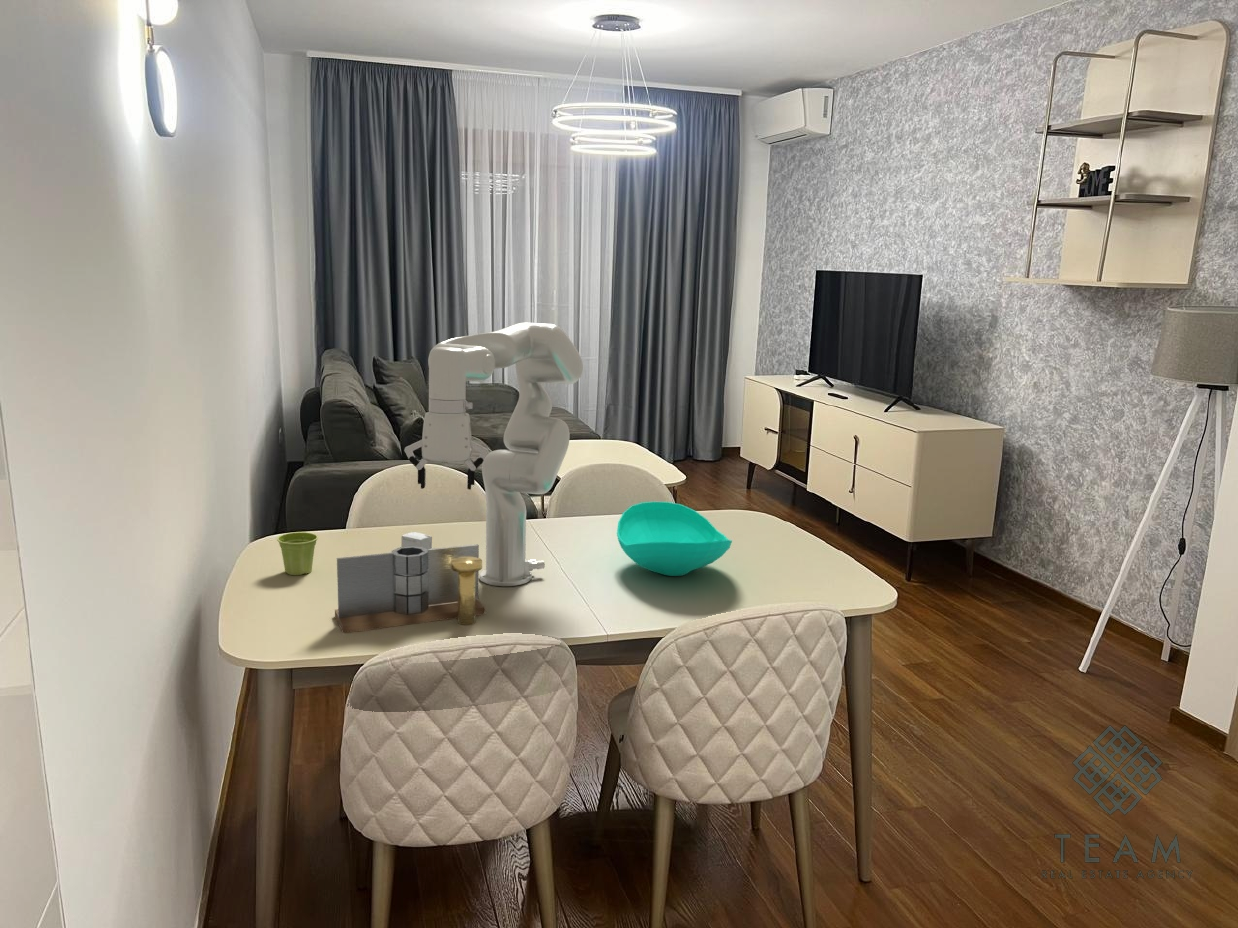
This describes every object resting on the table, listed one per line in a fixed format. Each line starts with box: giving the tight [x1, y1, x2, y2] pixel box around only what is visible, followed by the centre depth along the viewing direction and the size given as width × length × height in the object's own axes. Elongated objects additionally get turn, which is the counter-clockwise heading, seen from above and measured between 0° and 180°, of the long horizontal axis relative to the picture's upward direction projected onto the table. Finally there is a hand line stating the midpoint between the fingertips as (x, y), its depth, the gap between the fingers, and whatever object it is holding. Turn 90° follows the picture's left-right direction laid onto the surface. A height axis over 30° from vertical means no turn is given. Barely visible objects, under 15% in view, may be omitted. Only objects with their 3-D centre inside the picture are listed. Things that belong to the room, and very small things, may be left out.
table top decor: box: [616, 501, 733, 577], centre depth 237 cm, size 40×28×13 cm
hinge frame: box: [336, 546, 429, 618], centre depth 199 cm, size 19×7×13 cm, turn 116°
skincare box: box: [401, 531, 433, 551], centre depth 221 cm, size 6×4×12 cm
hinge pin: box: [451, 557, 483, 626], centre depth 199 cm, size 6×6×14 cm
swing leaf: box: [394, 543, 480, 605], centre depth 203 cm, size 19×7×12 cm, turn 116°
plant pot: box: [276, 531, 319, 576], centre depth 227 cm, size 9×9×9 cm
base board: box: [334, 599, 486, 634], centre depth 202 cm, size 30×10×2 cm, turn 116°
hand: (446, 487), depth 199 cm, fingers open, 9 cm apart
